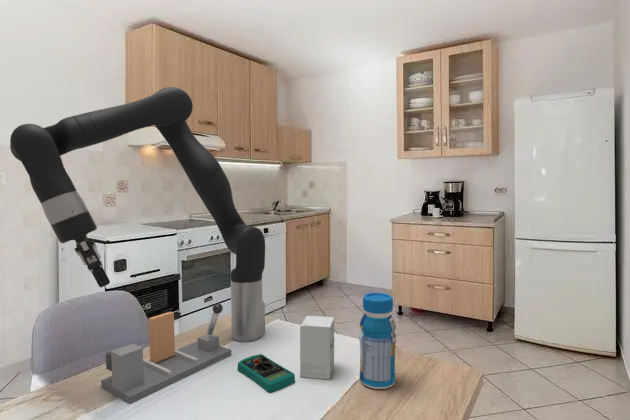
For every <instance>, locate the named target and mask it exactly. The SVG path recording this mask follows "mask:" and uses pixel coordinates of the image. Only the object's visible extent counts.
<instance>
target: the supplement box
mask: <svg viewBox="0 0 630 420" xmlns="http://www.w3.org/2000/svg"><path fill="white" fill-rule="evenodd" d="M299 327H300V328H299V333H300V334H299V342H300V343H299V344H300V345H299V350H300V351H299V352H300V353H299V366H300V367H299V372H300V373H299V375H300V378H310V379H319V380H328V381H329V380H330V379H331V376H332V372H333V370H334V367H335V317H334V316H322V315H321V316H318V315H316V316H315V315H306V316H305V318H304V320H303V321H302V323H301V324H300V325H299Z"/></svg>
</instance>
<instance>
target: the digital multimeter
mask: <svg viewBox="0 0 630 420" xmlns="http://www.w3.org/2000/svg"><path fill="white" fill-rule="evenodd" d="M237 371H238V372H239V373H242V374H244V376H246V377H247V378H249V379H250V380H252V382H255V383H256V384H257V385H259V386H260V387H261V388H262V389H264V390H265V391H267V393H273V392H275V391H278V390H281V389H283V388H286V387H288V386H290V385H292V384H294V383H295V382H296V379H295V378H296V377H295V376H296V375H295V373H294V372H292V371H291V370H289V369H287V368H285V367H283V366H282V365H280V364H278V363H277V362H275V361H274V360H272V359H270V358H268V357H267V356H265V355H264V354H262V353H259V354H255V355H251V356H249V357H246V358H243V359H241V360H240V361H238V362H237Z"/></svg>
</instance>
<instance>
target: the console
mask: <svg viewBox="0 0 630 420" xmlns="http://www.w3.org/2000/svg"><path fill="white" fill-rule="evenodd" d="M110 352H111V366H112V371H111V376H108V377H106V378H103V379H101V380H100V386H101V388H102V389H104V390H106V391H108V392H110V393H111V394H113V395H114V396H116V397H118V398H120V399H121V400H122V401H125V402H127V404H129V405H130V404H132V403H135V402H137V401H139V400H141V399H143V398H145V397H147V396H149V395H151V394H154V393H156V392H159V390H160V391H161V390H162V389H164V388H166V387H168V386H170V385H173V384H174V383H176V382H178V381H180V380H183V379H185V378H187V377H189V376H191V375H194V374H195V373H197V372H199V371H201V370H202V371H203V370H204V369H206V368H208V367H210V366H212V365H213V364H214V365H215V364H216V363H218V362H220V361H223V360H225V359H227V358H229V357H230V356H232V350H231V349H230V348H226V347H224V346H221V345H220V336H219V335H217V334H214V333H213V334H212V335H208V334H207V333H206V334H203V335H201V336H198V337H197V341H196V342H193V343H190V344H187V345H186V346H183V347H180V348H178V349H175V355H173V356H171V357H168V358H166V359H163V360H161V361H159V362H156V363H153V362H151V361H150V360H148V359H146V358H144V349H143V347H142V346H140V345H138V344H135V343H131V344H127V345H125V346H122V347H119V348H117V349H114V350H111V351H110Z"/></svg>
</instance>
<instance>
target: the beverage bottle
mask: <svg viewBox="0 0 630 420" xmlns="http://www.w3.org/2000/svg"><path fill="white" fill-rule="evenodd" d="M362 309H363V311H364V313H363V315H362V317H361V319H360V322H359V328H360V331H359V334H358V335H359V336H358V339H359V361H360V362H359V381H360V382H361V384H362V385H364V386H365V387H368V388H370V389H374V390H386V389H389V388H391V387H392V386H394V385H395V384H396V343H397V334H396V329H397V326H396V325H397V324H396V321H395V319H394V317H393V316H392V314H391V313H393V310H394V299H393V296H392V295H391V294H388V293H383V292H369V293H365V294H363V298H362Z"/></svg>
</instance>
